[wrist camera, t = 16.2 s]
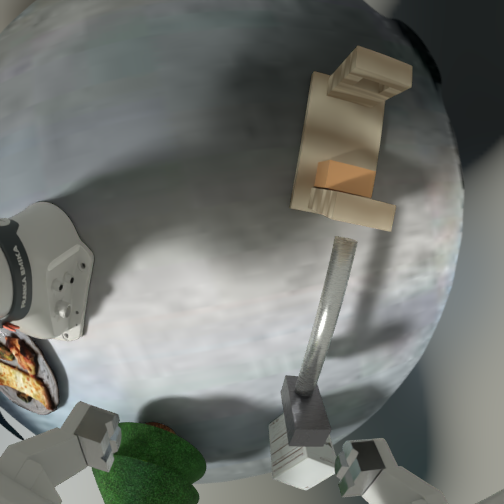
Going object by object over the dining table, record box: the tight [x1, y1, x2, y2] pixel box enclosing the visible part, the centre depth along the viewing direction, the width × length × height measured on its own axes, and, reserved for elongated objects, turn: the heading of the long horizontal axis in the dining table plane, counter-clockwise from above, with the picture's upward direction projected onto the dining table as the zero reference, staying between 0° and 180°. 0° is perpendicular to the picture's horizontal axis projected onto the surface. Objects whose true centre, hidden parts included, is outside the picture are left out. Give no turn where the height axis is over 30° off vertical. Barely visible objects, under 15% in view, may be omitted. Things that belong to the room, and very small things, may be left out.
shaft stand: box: [289, 46, 412, 232], centre depth 30 cm, size 18×10×12 cm, turn 170°
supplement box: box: [269, 413, 336, 490], centre depth 40 cm, size 7×7×13 cm
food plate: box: [0, 328, 59, 415], centre depth 43 cm, size 25×23×4 cm
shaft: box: [281, 236, 358, 447], centre depth 30 cm, size 22×4×10 cm, turn 170°
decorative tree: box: [92, 422, 206, 504], centre depth 33 cm, size 19×19×30 cm
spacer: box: [314, 160, 376, 198], centre depth 33 cm, size 3×5×5 cm, turn 81°
